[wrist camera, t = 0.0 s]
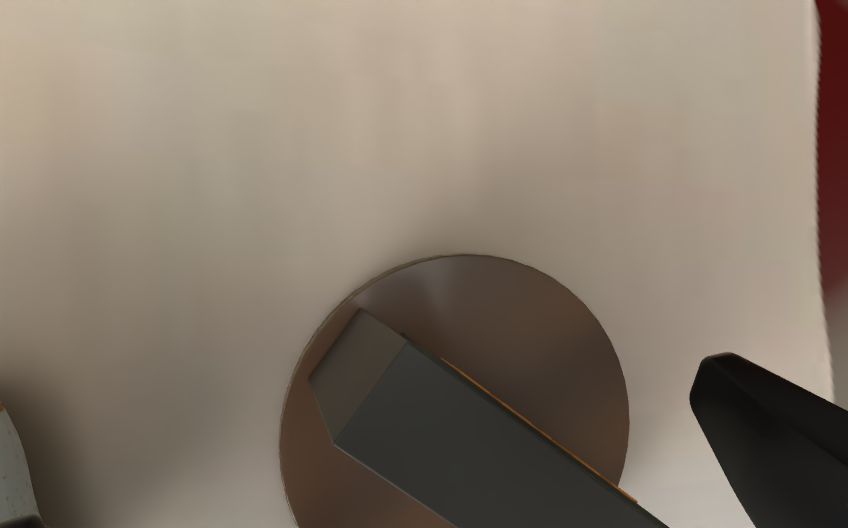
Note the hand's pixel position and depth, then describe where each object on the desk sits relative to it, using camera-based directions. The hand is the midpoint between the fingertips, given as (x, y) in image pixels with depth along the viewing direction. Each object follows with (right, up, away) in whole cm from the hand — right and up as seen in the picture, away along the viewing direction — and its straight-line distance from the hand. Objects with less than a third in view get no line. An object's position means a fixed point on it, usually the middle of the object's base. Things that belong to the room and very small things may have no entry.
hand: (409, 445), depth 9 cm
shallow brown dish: (+2, -4, +16) cm, 16 cm away
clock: (+2, -4, +16) cm, 16 cm away
